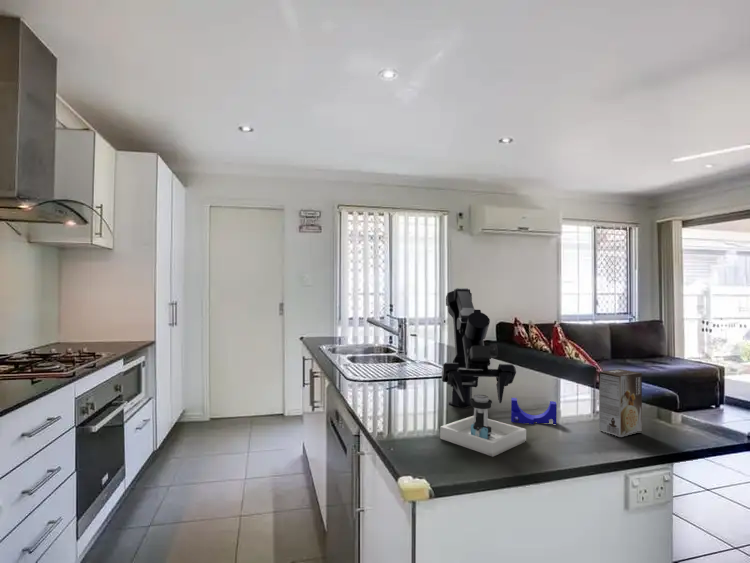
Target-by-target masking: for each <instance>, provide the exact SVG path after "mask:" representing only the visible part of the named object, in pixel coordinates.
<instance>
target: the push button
mask: <svg viewBox="0 0 750 563" xmlns="http://www.w3.org/2000/svg"><path fill="white" fill-rule="evenodd" d="M470 402H471V406H470V407H472V408H473V416H474V421H473V423H474V424H471V435H474V436H477V437H480V438H484V439H488V438H492V439H495V438H494V437H492V436H491V434H492V435H495V434H493V433H491V427H489V426H488V419H489V410H490V409H491V408H492V404H493V400H492V399H489V395H486V394H474V395H473V397H472V398H471V399H470Z"/></svg>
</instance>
